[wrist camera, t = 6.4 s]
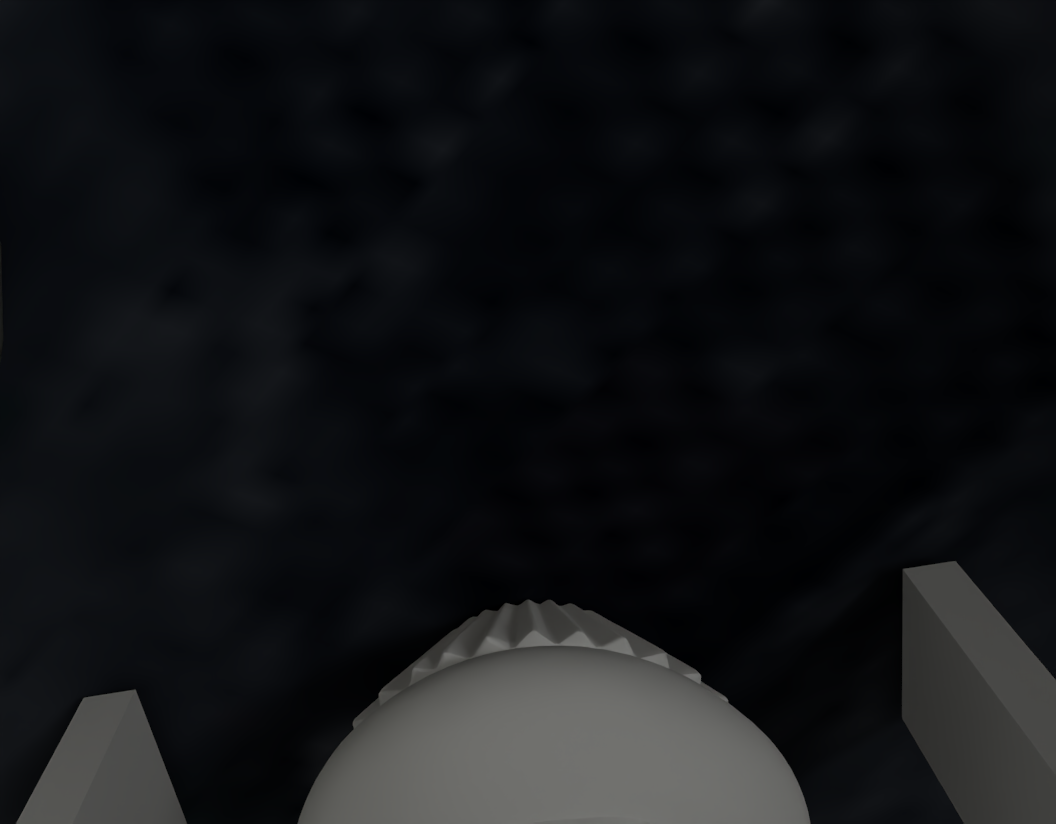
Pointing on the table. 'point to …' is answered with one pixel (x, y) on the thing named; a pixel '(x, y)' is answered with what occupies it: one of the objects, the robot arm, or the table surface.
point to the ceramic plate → (1, 308)
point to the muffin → (552, 735)
